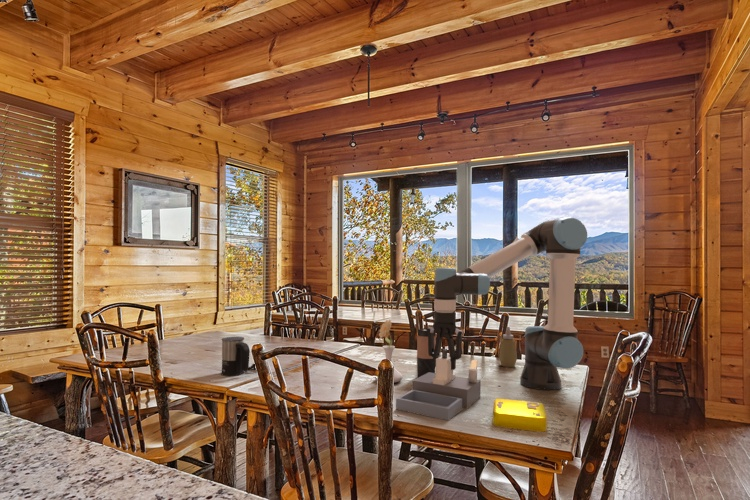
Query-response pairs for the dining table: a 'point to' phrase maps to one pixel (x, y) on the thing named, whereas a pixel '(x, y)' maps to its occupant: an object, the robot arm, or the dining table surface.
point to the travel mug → (424, 353)
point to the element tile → (519, 415)
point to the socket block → (450, 388)
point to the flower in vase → (389, 347)
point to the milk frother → (235, 356)
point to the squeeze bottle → (508, 350)
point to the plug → (442, 369)
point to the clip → (473, 372)
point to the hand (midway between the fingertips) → (444, 377)
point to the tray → (429, 404)
